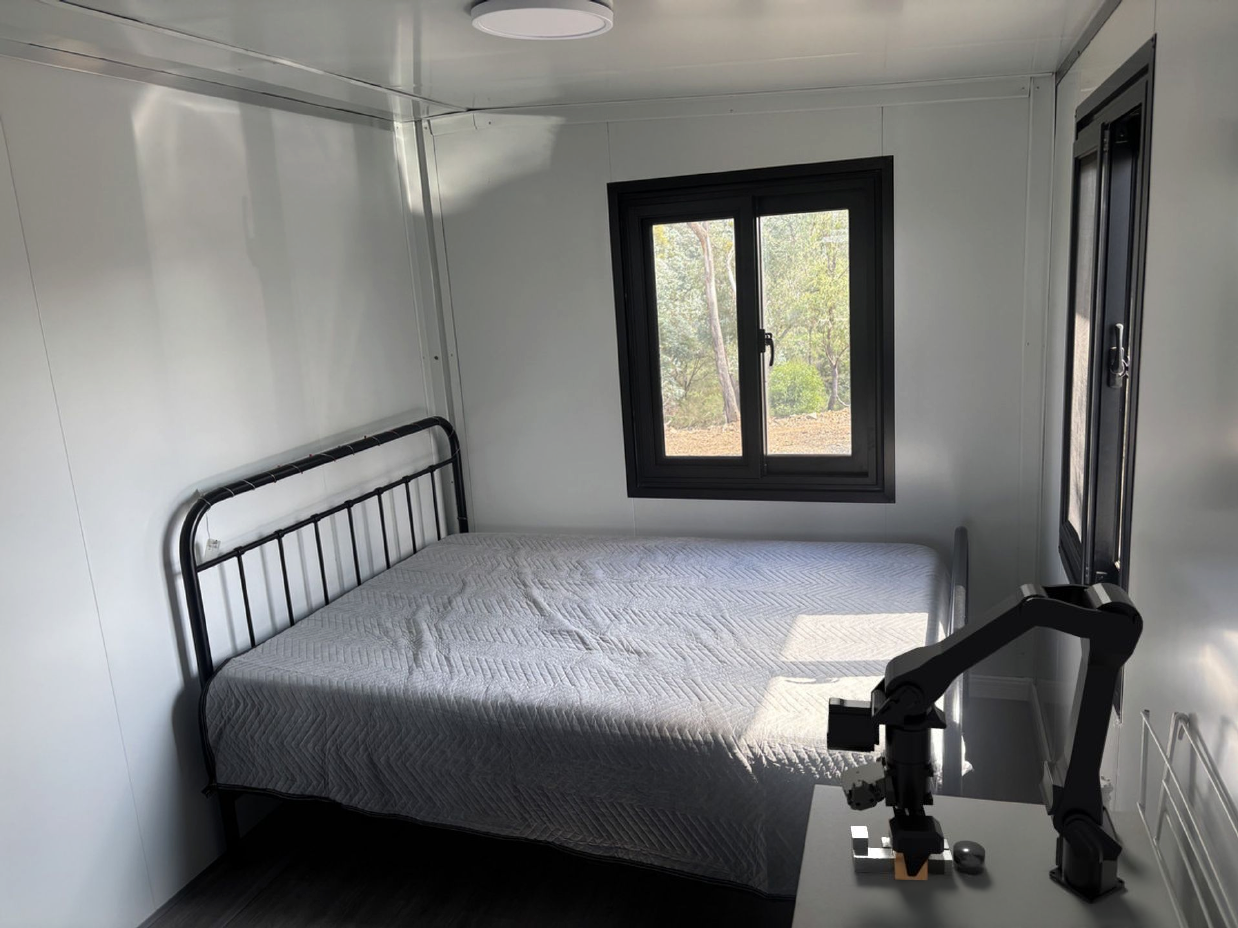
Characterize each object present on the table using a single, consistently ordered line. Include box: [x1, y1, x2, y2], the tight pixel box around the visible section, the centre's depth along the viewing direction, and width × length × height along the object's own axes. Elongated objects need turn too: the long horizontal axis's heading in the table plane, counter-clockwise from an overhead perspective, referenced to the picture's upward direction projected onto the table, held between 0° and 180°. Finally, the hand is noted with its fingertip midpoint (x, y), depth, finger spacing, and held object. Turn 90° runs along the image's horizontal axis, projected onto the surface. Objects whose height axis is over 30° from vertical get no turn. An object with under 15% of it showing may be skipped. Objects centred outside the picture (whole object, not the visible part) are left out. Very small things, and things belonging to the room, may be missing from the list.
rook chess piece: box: [1100, 774, 1117, 832], centre depth 131 cm, size 4×4×8 cm
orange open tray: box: [887, 818, 928, 881], centre depth 128 cm, size 4×7×4 cm, turn 172°
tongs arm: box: [850, 825, 954, 876], centre depth 128 cm, size 12×4×4 cm, turn 82°
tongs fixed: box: [881, 837, 986, 877], centre depth 128 cm, size 13×4×2 cm, turn 82°
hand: (907, 856), depth 128 cm, fingers closed on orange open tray, 7 cm apart
